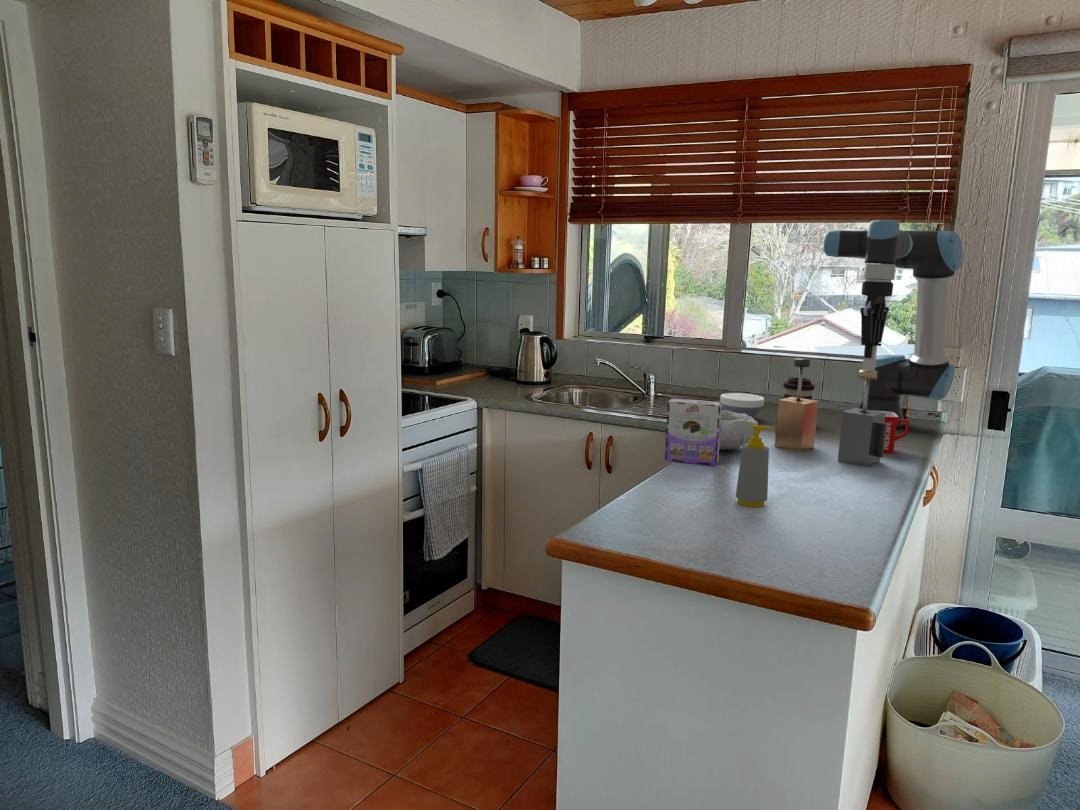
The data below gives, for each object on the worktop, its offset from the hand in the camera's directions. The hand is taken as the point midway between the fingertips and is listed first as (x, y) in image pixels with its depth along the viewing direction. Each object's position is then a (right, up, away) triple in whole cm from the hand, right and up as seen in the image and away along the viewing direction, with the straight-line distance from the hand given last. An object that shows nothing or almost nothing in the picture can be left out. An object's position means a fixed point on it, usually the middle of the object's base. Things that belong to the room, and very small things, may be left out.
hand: (868, 369), depth 215 cm
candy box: (-47, -25, 0) cm, 53 cm away
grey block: (-1, -25, +5) cm, 25 cm away
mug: (+13, -23, +20) cm, 33 cm away
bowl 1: (-20, -14, +59) cm, 64 cm away
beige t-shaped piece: (0, -17, +3) cm, 18 cm away
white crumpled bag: (-36, -22, +16) cm, 45 cm away
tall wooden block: (-14, -22, +20) cm, 32 cm away
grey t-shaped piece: (-13, -13, +18) cm, 26 cm away
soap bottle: (-41, -32, -35) cm, 62 cm away
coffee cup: (-3, -16, +53) cm, 56 cm away
